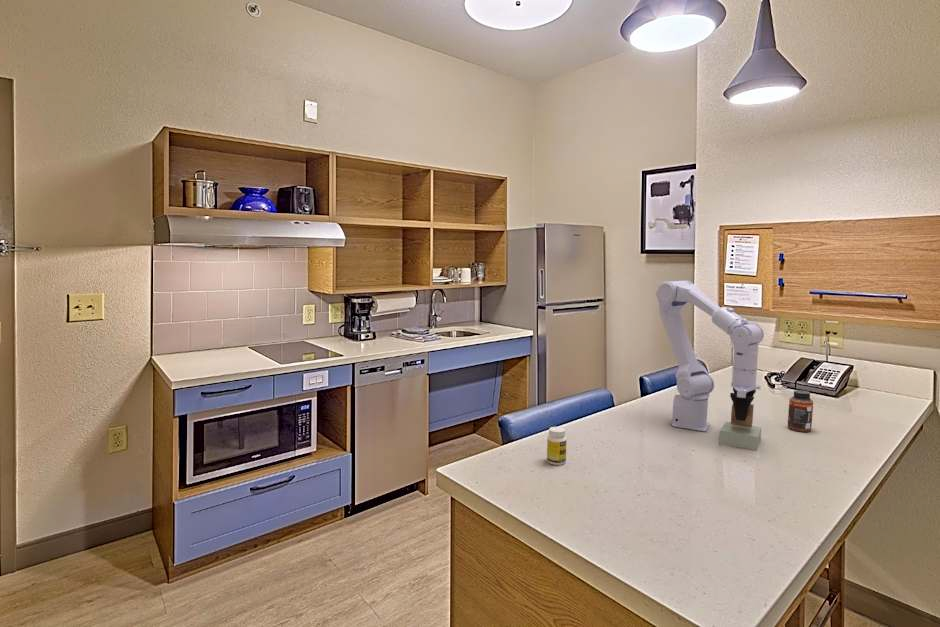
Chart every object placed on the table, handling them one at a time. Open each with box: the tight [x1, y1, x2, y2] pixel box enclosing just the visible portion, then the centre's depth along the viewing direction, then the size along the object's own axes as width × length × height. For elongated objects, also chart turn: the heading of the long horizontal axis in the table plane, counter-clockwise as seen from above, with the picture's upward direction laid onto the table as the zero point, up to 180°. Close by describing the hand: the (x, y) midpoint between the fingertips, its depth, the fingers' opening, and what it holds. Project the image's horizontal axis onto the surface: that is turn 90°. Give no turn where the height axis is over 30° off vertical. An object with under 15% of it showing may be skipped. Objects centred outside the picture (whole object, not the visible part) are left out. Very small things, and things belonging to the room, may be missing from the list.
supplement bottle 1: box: [546, 426, 567, 466], centre depth 132 cm, size 5×5×8 cm
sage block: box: [718, 421, 762, 451], centre depth 145 cm, size 9×9×4 cm
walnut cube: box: [730, 403, 755, 428], centre depth 144 cm, size 5×5×5 cm
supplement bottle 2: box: [787, 389, 814, 433], centre depth 154 cm, size 6×6×11 cm
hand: (741, 417), depth 144 cm, fingers closed on walnut cube, 5 cm apart
